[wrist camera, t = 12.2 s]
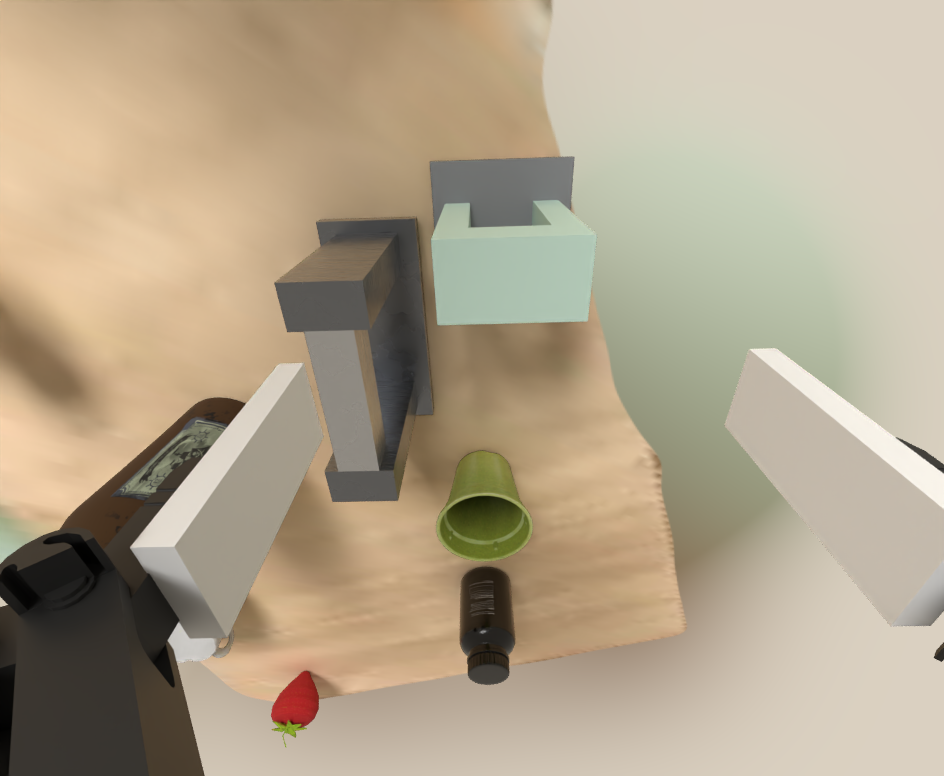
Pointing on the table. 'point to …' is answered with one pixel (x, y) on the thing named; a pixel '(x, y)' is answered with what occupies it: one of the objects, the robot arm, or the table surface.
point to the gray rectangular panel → (501, 187)
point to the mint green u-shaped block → (512, 268)
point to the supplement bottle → (486, 624)
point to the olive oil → (153, 468)
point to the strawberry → (296, 705)
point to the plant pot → (484, 511)
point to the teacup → (197, 646)
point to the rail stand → (364, 347)
